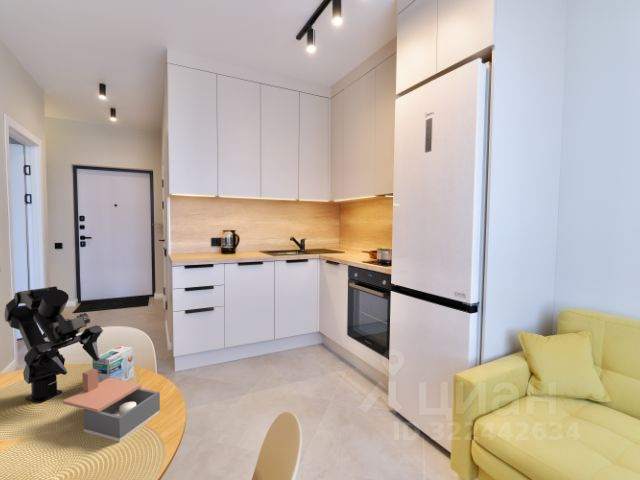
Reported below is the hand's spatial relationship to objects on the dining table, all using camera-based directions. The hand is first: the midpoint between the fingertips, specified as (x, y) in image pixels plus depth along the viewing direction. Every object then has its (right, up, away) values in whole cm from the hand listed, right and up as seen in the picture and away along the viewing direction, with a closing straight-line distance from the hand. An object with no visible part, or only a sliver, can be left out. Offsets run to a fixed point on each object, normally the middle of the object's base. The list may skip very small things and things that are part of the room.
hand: (82, 366), depth 92 cm
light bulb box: (-2, -12, +17) cm, 21 cm away
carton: (+14, -14, -4) cm, 20 cm away
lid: (+7, -7, -2) cm, 11 cm away
